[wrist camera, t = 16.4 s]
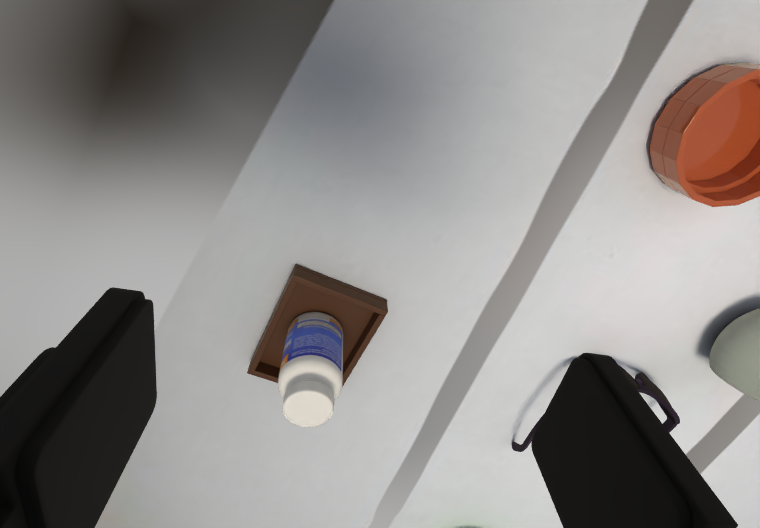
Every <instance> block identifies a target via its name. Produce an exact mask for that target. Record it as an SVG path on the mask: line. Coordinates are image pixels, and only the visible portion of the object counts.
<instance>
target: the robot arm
mask: <svg viewBox="0 0 760 528" xmlns="http://www.w3.org/2000/svg"><path fill="white" fill-rule="evenodd" d="M156 398H157V390H156V364H155V338H154V313H153V303H152V301H151V300H147V299H145V297H144V294H143V293H142V292H141V291H134V290H127V289H120V288H110V289H109V290H107V291H106V292H105V293H104V295H103V296H102V297H101V298H100V299H99V300H98V301H97V302H96V303H95V305H94V306H93V307H92V308H91V309H90V310H89V312H87V314H86V315H85V316H84V317H83V318H82V319H81V320H80V321H79V322H78V324H77V325H76V326H75V327H74V328H73V329H72V330H71V332H70V333H69V334H68V335H67V336H66V337H65V338H64V339H63V340H62V341H61V343H60V344H59V345H58V346H57V347H56V348H49V349H46V350H45V351H44V352H42V353H41V354H40V355H39V356H38V357H37V358H36V359H35V360H34V361H33V362H32V363H31V364H30V365H29V367H28V368H27V369H26V370H25V371H24V372H23V373H22V374H21V375H20V376H19V377H18V379H17V380H16V381H15V382H14V383H13V384H12V385H11V386H10V387H9V388H8V389H7V390H6V391H5V393H4V394H3V395H2V396H1V397H0V528H95V526H96V524H97V522H98V520H99V518H100V516H101V514H102V512H103V510H104V508H105V506H106V504H107V502H108V500H109V498H110V496H111V494H112V492H113V490H114V488H115V486H116V484H117V482H118V480H119V478H120V476H121V474H122V472H123V470H124V468H125V466H126V464H127V462H128V460H129V458H130V456H131V454H132V452H133V450H134V449H135V447H136V445H137V443H138V441H139V439H140V437H141V435H142V433H143V431H144V429H145V427H146V425H147V423H148V421H149V419H150V417H151V415H152V413H153V410H154V407H155V404H156ZM532 451H533V454H534V456H535V459H536V461H537V464H538V466H539V469H540V471H541V474H542V476H543V478H544V481H545V483H546V486H547V488H548V491H549V493H550V496H551V498H552V501H553V503H554V505H555V508H556V510H557V513H558V515H559V518H560V520H561V523H562V525H563V528H736V527H737V526H738V524H737V523H736V521H735V520H734V519H733V517H732V516H731V515H730V513H729V512H728V511H727V509H726V508H725V507H724V505H723V504H722V503H721V501H720V500H719V499H718V498H717V496H716V495H715V494H714V492H713V491H712V490H711V488H710V487H709V486H708V484H707V483H706V482H705V480H704V479H703V478H702V476H701V475H700V474H699V472H698V471H697V470H696V468H695V467H694V466H693V464H692V463H691V462H690V460H689V459H688V458H687V456H686V455H685V454H684V452H683V451H682V450H681V448H680V447H679V446H678V444H677V443H676V442H675V440H674V439H673V438H672V436H671V435H670V434H669V432H668V431H667V430H666V428H665V427H664V426H663V424H662V423H661V422H660V420H659V419H658V418H657V416H656V415H655V414H654V412H653V411H652V410H651V408H650V407H649V406H648V404H647V403H646V402H645V400H644V399H643V398H642V396H641V395H640V394H639V392H638V391H637V390H636V388H635V387H634V386H633V384H632V383H631V382H630V380H629V379H628V378H627V376H626V375H625V374H624V372H623V371H622V370H621V368H620V367H619V366H618V364H617V363H616V362H615V360H614V359H613V358H612V357H610V356H606V355H599V354H592V353H583V354H582V355H580V356H579V358H575V359H574V360H573V361H572V362H571V364H570V366H569V368H568V370H567V372H566V374H565V376H564V378H563V379H562V381H561V383H560V385H559V387H558V389H557V391H556V393H555V395H554V397H553V399H552V400H551V402H550V404H549V406H548V408H547V410H546V412H545V414H544V416H543V418H542V419H541V421H540V423H539V425H538V427H537V429H536V431H535V433H534V435H533V437H532Z"/></svg>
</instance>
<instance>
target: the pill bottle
mask: <svg viewBox="0 0 760 528" xmlns="http://www.w3.org/2000/svg"><path fill="white" fill-rule="evenodd" d="M342 382H343V330H342V327H341V325H340V324H339V322H338V321H337V320H336V319H335V318H333V317H332V316H330V315H328V314H325V313H321V312H308V313H304V314H302V315H300V316H298V317H297V318H295V319H294V320H293V321H292V323H291V324H290V326H289V328H288V332H287V336H286V341H285V346H284V352H283V357H282V362H281V367H280V372H279V378H278V387H279V391H280V393H281V395H282V396H283V397H284V398H283V413H284V415H285V417H286V418H287V419H288V420H289V421H290V422H292V423H294V424H296V425H299V426H303V427H313V426H318V425H321V424H323V423H325V422H326V421H327V420H328V419H329V418H330V417H331V415H332V413H333V409H334V400H335V399H336V398H337V397H338V395H339V394H340V392H341V389H342Z"/></svg>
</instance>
